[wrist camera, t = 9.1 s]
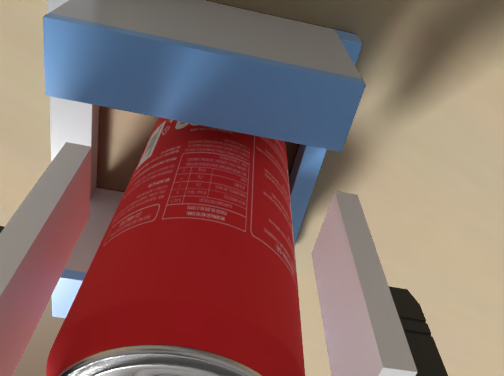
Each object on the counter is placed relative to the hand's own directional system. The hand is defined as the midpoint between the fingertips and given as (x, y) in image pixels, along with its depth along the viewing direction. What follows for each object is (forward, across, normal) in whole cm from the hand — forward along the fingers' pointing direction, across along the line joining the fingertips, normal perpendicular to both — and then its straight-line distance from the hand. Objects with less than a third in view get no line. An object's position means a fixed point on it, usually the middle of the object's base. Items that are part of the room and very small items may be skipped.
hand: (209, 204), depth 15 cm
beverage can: (+5, 0, 0) cm, 5 cm away
